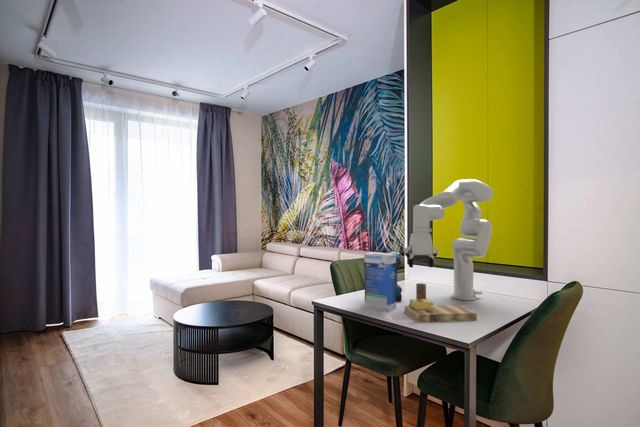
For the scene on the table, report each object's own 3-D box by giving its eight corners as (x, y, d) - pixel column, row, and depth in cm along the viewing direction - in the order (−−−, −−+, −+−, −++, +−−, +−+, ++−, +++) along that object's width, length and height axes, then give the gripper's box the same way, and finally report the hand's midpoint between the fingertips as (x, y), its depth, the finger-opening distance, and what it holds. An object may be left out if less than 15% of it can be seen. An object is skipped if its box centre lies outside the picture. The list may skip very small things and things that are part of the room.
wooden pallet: (459, 310, 164) (459, 304, 164) (477, 320, 150) (477, 313, 150) (404, 312, 161) (404, 305, 161) (417, 322, 147) (417, 315, 147)
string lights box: (396, 309, 166) (396, 253, 166) (389, 312, 160) (389, 255, 160) (371, 304, 175) (371, 251, 175) (363, 308, 169) (363, 253, 169)
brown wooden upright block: (423, 305, 172) (423, 283, 172) (427, 307, 168) (427, 284, 168) (414, 305, 172) (414, 283, 172) (418, 307, 168) (418, 285, 168)
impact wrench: (398, 295, 196) (399, 249, 196) (404, 305, 173) (404, 253, 173) (384, 294, 197) (384, 248, 196) (388, 305, 174) (388, 253, 174)
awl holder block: (425, 305, 174) (425, 298, 174) (432, 309, 166) (432, 302, 166) (409, 305, 173) (409, 299, 173) (416, 309, 166) (416, 303, 166)
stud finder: (426, 305, 161) (426, 298, 161) (431, 308, 156) (431, 301, 156) (411, 306, 160) (411, 299, 160) (415, 309, 155) (415, 301, 155)
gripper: (435, 230, 175) (434, 265, 175) (400, 230, 173) (400, 266, 172) (442, 231, 167) (441, 268, 167) (406, 231, 165) (406, 268, 165)
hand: (420, 267), depth 170 cm, fingers open, 9 cm apart
